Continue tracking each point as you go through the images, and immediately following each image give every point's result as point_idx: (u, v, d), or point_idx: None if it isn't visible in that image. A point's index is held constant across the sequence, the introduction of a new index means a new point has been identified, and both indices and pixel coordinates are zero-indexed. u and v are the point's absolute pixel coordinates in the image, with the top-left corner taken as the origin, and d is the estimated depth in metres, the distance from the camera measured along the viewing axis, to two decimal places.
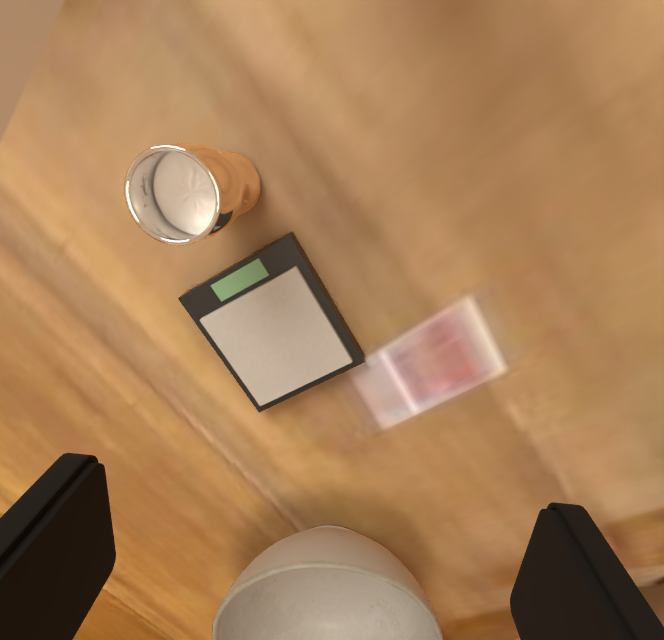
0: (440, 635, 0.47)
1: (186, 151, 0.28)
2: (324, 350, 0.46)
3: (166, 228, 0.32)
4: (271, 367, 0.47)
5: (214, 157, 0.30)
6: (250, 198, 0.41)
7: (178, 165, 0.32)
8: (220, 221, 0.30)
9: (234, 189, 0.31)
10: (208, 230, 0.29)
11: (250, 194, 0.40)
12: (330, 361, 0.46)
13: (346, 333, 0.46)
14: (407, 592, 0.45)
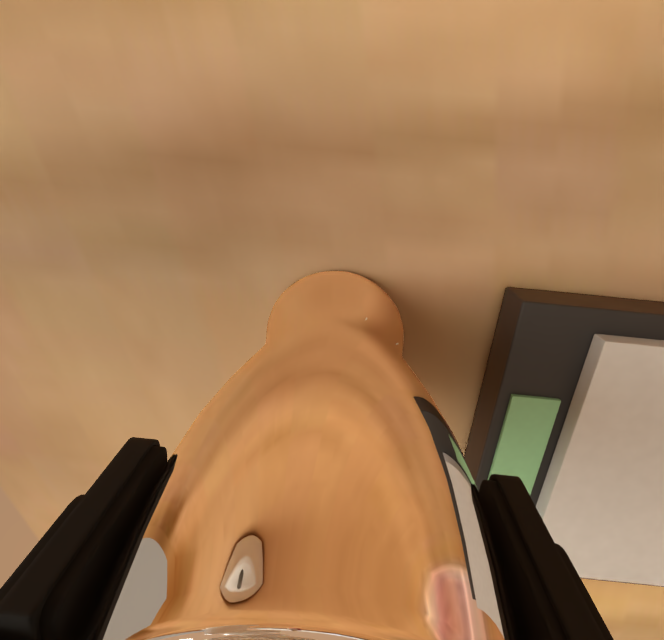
0: None
1: None
2: None
3: None
4: None
5: (258, 445, 0.07)
6: (393, 328, 0.16)
7: None
8: None
9: (411, 445, 0.07)
10: None
11: (387, 323, 0.16)
12: None
13: None
14: None
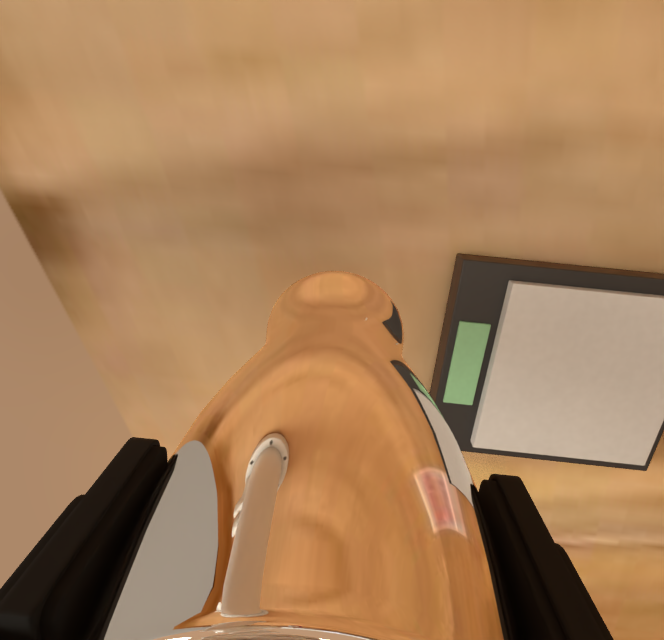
0: None
1: None
2: (656, 329, 0.26)
3: None
4: (609, 413, 0.28)
5: (258, 445, 0.07)
6: (393, 328, 0.16)
7: None
8: None
9: (411, 445, 0.07)
10: None
11: (387, 323, 0.16)
12: None
13: (659, 281, 0.26)
14: None
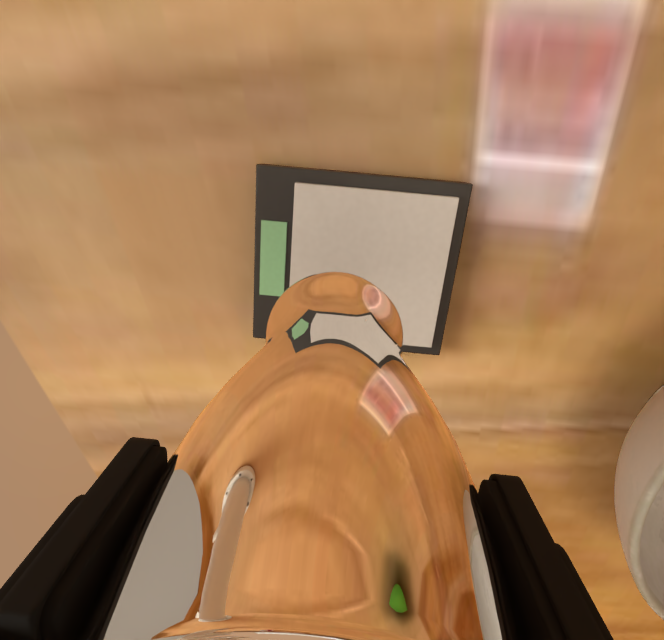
0: None
1: None
2: (418, 222, 0.32)
3: None
4: (394, 299, 0.34)
5: (257, 448, 0.07)
6: (393, 329, 0.16)
7: None
8: None
9: (411, 447, 0.07)
10: None
11: (387, 324, 0.16)
12: (438, 225, 0.32)
13: (418, 181, 0.31)
14: None
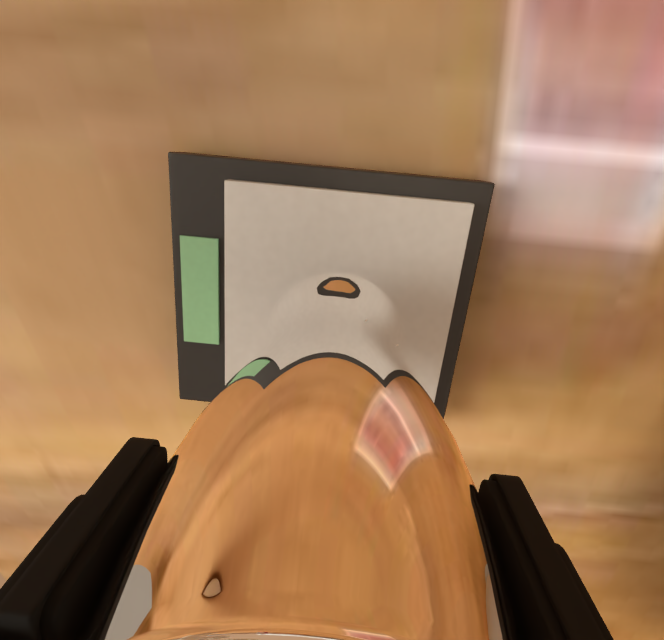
0: None
1: None
2: (412, 240, 0.21)
3: None
4: None
5: (257, 449, 0.07)
6: (393, 329, 0.16)
7: None
8: None
9: (411, 448, 0.07)
10: None
11: (387, 325, 0.16)
12: (442, 245, 0.21)
13: (412, 178, 0.21)
14: None
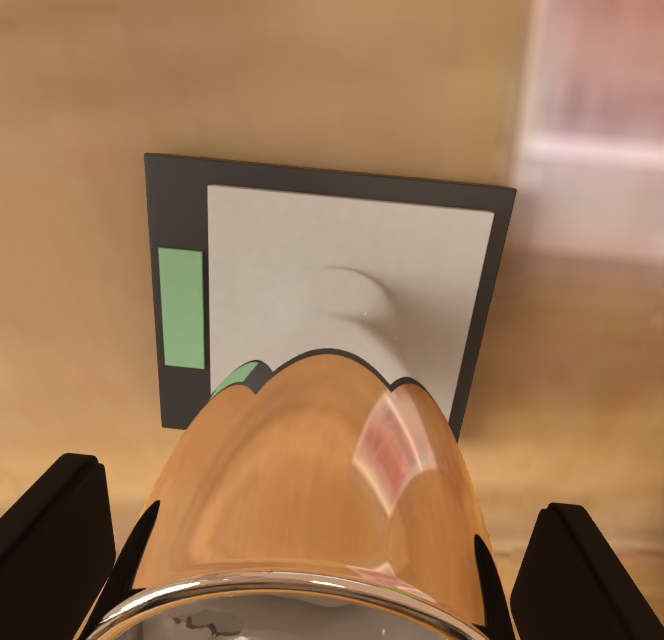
0: None
1: (145, 601, 0.05)
2: (422, 254, 0.18)
3: None
4: None
5: (263, 423, 0.07)
6: (391, 323, 0.17)
7: None
8: (506, 608, 0.06)
9: (405, 424, 0.08)
10: None
11: (386, 319, 0.16)
12: (456, 259, 0.18)
13: (423, 183, 0.18)
14: None
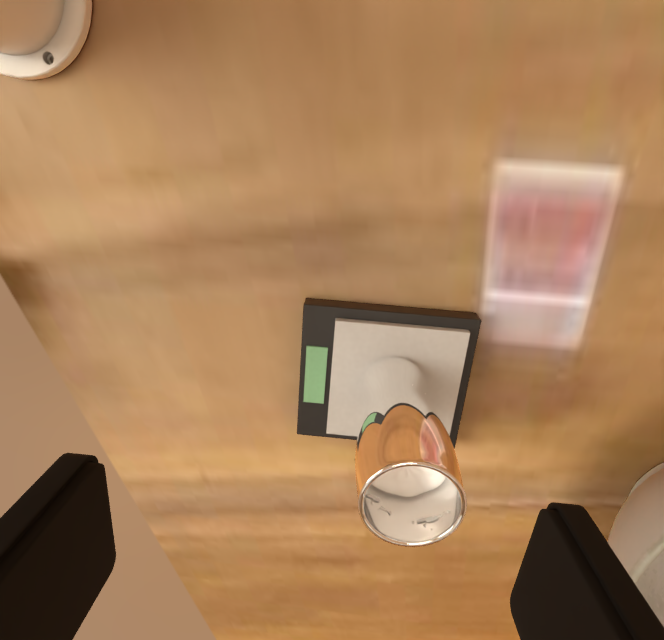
0: None
1: (386, 468, 0.25)
2: (436, 350, 0.38)
3: (418, 508, 0.30)
4: None
5: (397, 433, 0.27)
6: (423, 386, 0.37)
7: None
8: (460, 477, 0.26)
9: (434, 433, 0.28)
10: (464, 500, 0.25)
11: (420, 384, 0.36)
12: (453, 353, 0.38)
13: (436, 317, 0.38)
14: None
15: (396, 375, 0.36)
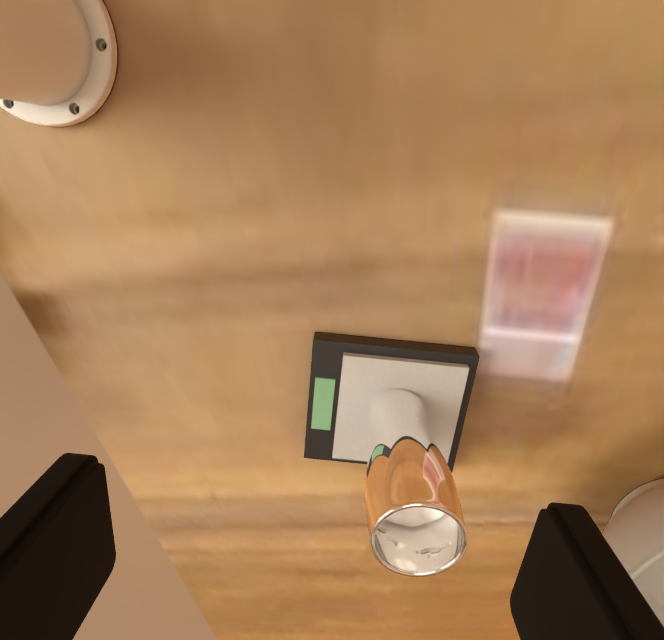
0: None
1: (396, 509, 0.28)
2: (437, 383, 0.41)
3: (422, 538, 0.32)
4: None
5: (405, 473, 0.30)
6: (425, 418, 0.40)
7: None
8: (462, 514, 0.29)
9: (438, 472, 0.30)
10: (466, 536, 0.28)
11: (423, 417, 0.39)
12: (452, 386, 0.41)
13: (438, 353, 0.41)
14: None
15: (400, 409, 0.39)
